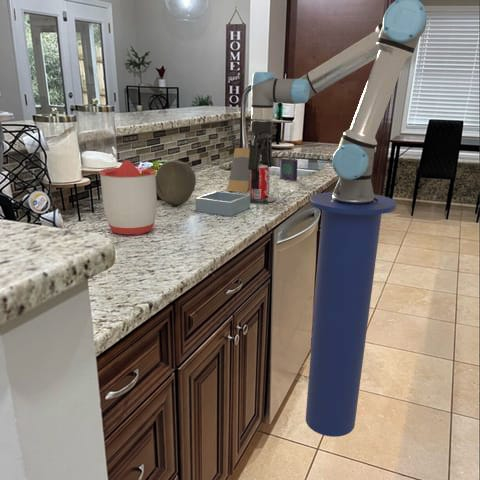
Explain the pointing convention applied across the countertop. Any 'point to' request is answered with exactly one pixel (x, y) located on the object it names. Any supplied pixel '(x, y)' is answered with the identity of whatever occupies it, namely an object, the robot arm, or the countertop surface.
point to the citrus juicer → (129, 198)
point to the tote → (222, 203)
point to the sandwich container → (240, 171)
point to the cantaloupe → (175, 182)
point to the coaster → (262, 200)
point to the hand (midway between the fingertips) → (259, 186)
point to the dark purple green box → (288, 168)
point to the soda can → (261, 184)
